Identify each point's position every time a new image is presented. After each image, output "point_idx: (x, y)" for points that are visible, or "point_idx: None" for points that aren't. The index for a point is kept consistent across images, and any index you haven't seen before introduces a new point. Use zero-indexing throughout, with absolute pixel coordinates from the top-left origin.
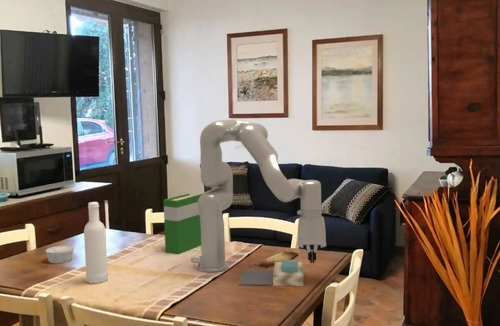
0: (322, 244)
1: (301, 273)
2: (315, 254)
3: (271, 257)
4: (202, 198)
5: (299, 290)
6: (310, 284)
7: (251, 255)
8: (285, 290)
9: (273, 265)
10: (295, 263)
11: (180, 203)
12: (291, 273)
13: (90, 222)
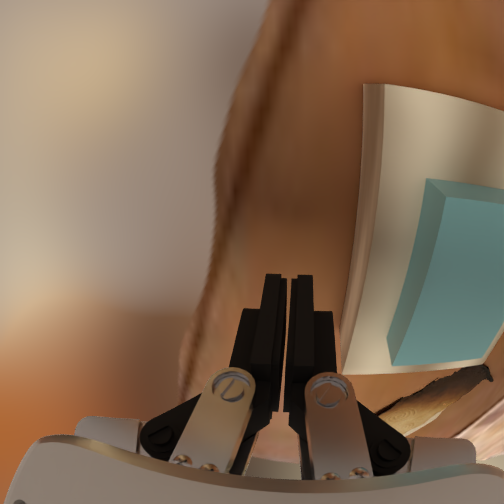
0: (72, 436)
1: (399, 142)
2: (240, 353)
3: (413, 429)
4: None
5: (386, 8)
6: (311, 120)
7: (457, 429)
8: (469, 27)
9: (441, 382)
10: (436, 295)
11: None
12: (475, 151)
13: None
